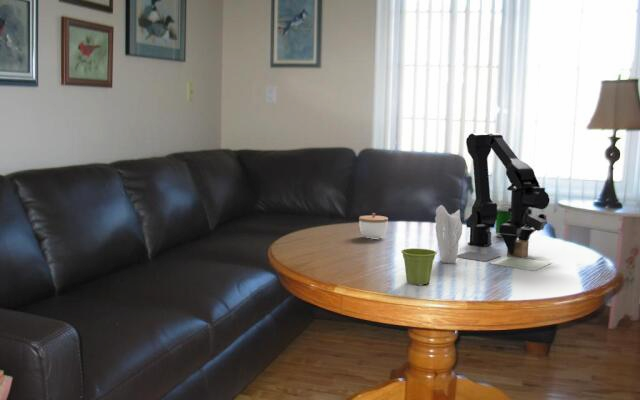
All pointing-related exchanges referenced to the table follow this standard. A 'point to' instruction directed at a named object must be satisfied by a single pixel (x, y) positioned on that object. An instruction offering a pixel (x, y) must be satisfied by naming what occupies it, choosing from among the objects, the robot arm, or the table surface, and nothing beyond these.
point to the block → (520, 249)
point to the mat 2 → (521, 263)
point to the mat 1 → (477, 256)
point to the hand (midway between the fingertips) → (517, 252)
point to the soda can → (502, 216)
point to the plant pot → (418, 265)
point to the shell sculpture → (448, 234)
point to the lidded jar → (373, 225)
